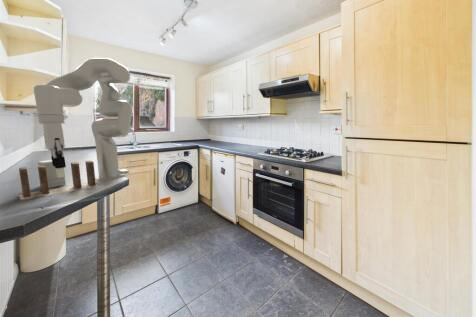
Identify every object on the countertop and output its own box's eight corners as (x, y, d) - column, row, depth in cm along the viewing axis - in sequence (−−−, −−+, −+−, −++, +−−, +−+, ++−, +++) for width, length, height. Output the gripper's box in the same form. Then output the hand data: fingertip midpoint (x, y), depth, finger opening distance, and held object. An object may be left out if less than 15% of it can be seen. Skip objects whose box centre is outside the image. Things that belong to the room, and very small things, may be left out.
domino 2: (62, 174, 91) (58, 147, 88) (65, 176, 87) (60, 149, 85) (56, 175, 89) (52, 148, 87) (58, 177, 86) (54, 149, 84)
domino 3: (78, 185, 102) (76, 162, 100) (81, 188, 98) (78, 163, 97) (73, 186, 100) (70, 162, 99) (76, 188, 97) (73, 164, 95)
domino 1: (47, 191, 94) (44, 165, 92) (49, 193, 90) (45, 166, 89) (41, 192, 93) (37, 166, 91) (42, 194, 89) (38, 167, 87)
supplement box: (60, 184, 108) (57, 158, 106) (66, 186, 104) (63, 160, 102) (41, 188, 102) (37, 160, 100) (46, 190, 98) (42, 162, 96)
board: (94, 184, 108) (94, 182, 108) (99, 188, 102) (99, 185, 102) (19, 197, 89) (19, 194, 89) (20, 202, 83) (20, 199, 83)
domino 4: (92, 183, 106) (90, 160, 104) (95, 185, 102) (93, 161, 101) (87, 184, 104) (85, 161, 103) (90, 186, 101) (88, 162, 99)
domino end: (29, 193, 90) (25, 167, 88) (30, 196, 86) (26, 168, 85) (23, 195, 89) (18, 167, 87) (23, 197, 85) (19, 169, 83)
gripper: (36, 119, 87) (43, 165, 90) (41, 119, 76) (50, 172, 79) (60, 119, 92) (66, 162, 96) (68, 119, 81) (75, 168, 84)
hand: (59, 166), depth 87 cm, fingers closed on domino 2, 5 cm apart
